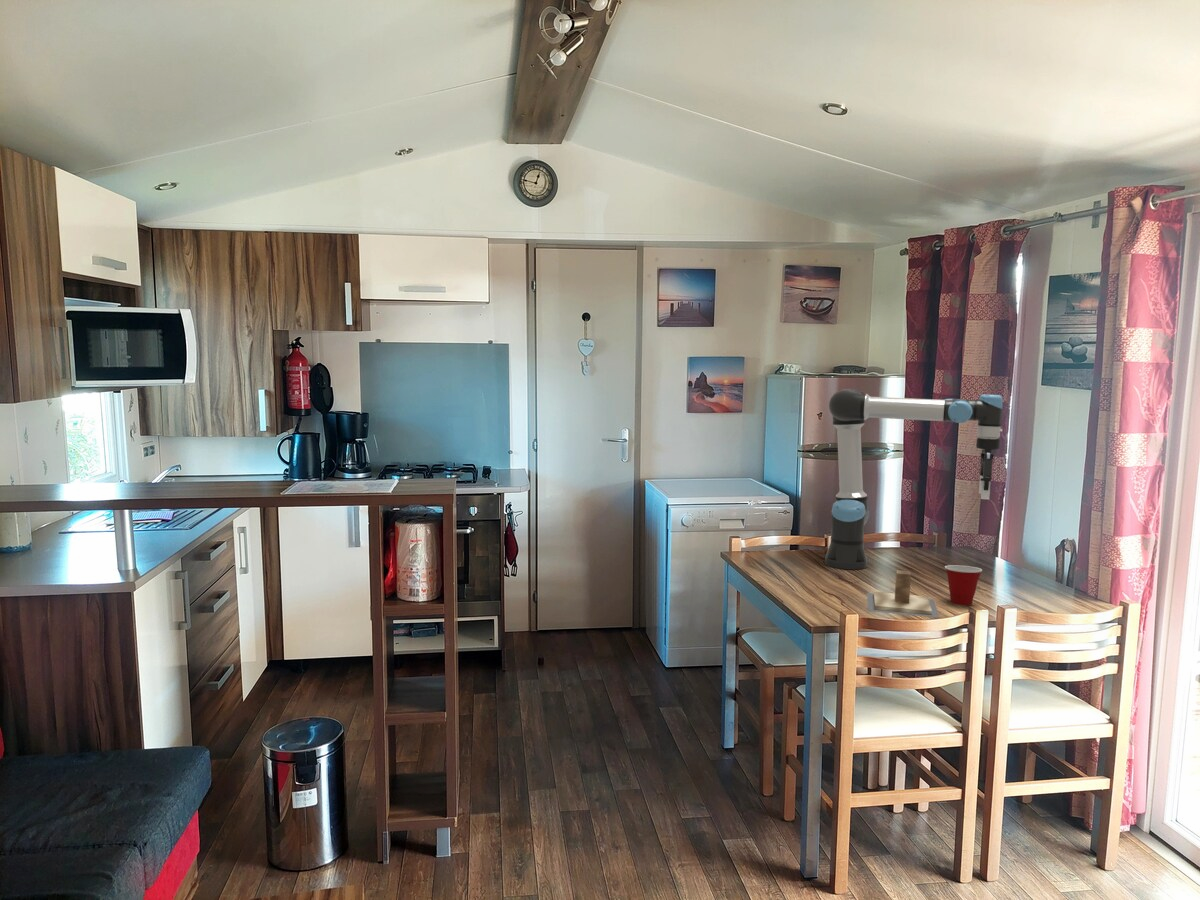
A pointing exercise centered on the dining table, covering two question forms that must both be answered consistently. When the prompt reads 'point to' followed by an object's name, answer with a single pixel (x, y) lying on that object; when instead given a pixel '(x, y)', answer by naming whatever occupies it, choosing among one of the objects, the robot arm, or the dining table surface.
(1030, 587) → the dining table surface
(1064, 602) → the dining table surface
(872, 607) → the mat
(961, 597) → the plastic cup
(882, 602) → the lid
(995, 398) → the robot arm
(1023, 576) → the dining table surface
